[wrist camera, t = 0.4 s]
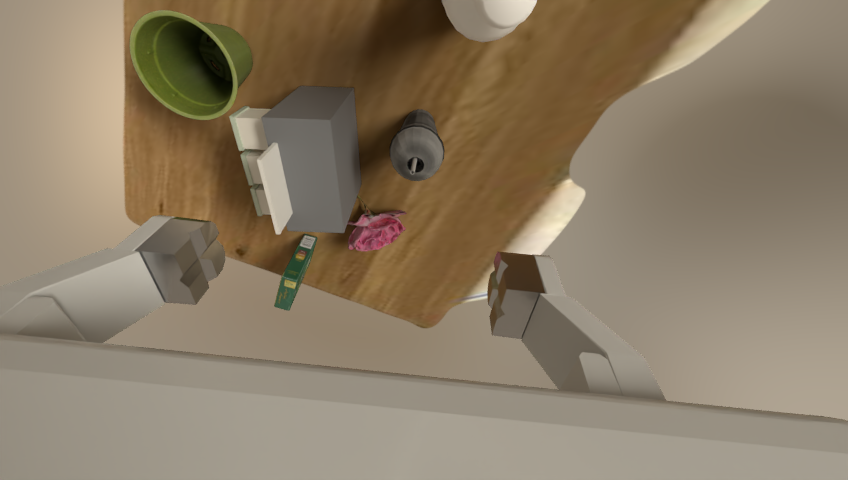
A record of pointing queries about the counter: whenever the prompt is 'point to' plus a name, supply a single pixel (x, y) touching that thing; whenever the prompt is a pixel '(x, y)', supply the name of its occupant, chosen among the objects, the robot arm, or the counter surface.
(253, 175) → the white and green block
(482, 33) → the bottle
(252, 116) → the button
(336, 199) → the grey box
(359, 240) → the flower
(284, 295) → the coffee box
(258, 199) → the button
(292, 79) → the counter surface
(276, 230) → the pattern placard
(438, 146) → the beverage cup
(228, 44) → the plant pot
